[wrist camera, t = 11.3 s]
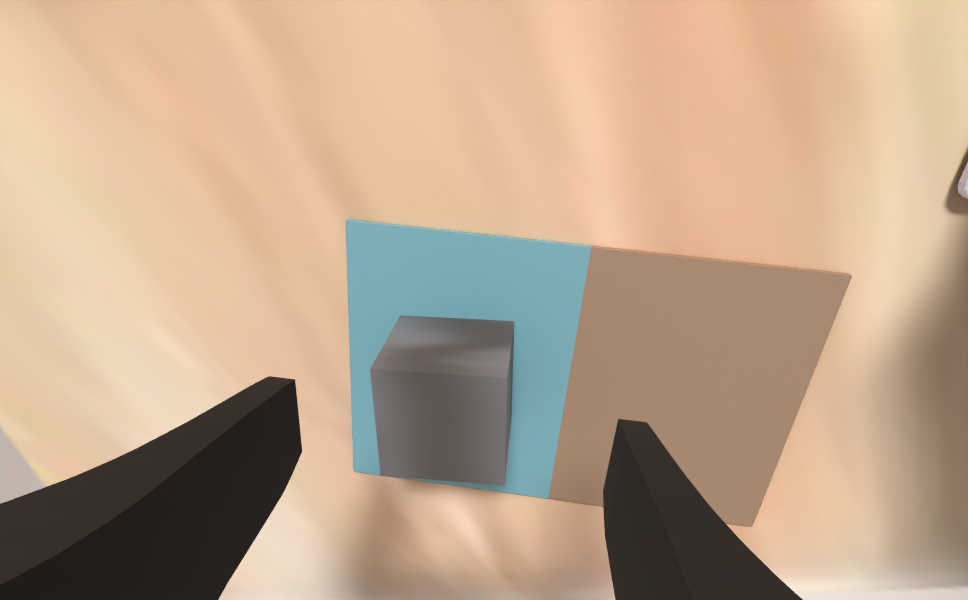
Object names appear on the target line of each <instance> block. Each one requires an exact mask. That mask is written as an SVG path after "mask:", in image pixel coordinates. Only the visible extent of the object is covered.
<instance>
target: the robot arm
mask: <svg viewBox="0 0 968 600" xmlns="http://www.w3.org/2000/svg"><path fill="white" fill-rule="evenodd" d="M957 188H958V192H959V194H960V195H961V196H962V197H964V198H967V199H968V162H967V165H966V167H965V169H964V171H963V173H962V176H961V178H960V180H959V183H958V187H957ZM301 453H302V445H301V435H300V425H299V415H298V405H297V395H296V385H295V379H286V378H278V377H270V376H269V377H267V378H265V379H263V380H261V381H259V382H257V383H255V384H253V385H251V386H250V387H248V388H246V389H244V390H243V391H241V392H239V393H237V394H236V395H234V396H232V397H230V398H229V399H227V400H225V401H223V402H222V403H220V404H218V405H216V406H215V407H213V408H211V409H209V410H208V411H206V412H204V413H202V414H201V415H199V416H197V417H195V418H194V419H192V420H190V421H188V422H186V423H185V424H183V425H181V426H179V427H177V428H175V429H173V430H171V431H169V432H167V433H166V434H164V435H162V436H160V437H158V438H156V439H154V440H152V441H150V442H148V443H146V444H144V445H142V446H141V447H139V448H137V449H135V450H133V451H130V452H128V453H126V454H124V455H122V456H120V457H118V458H116V459H113V460H111V461H109V462H107V463H104V464H102V465H100V466H97V467H95V468H93V469H91V470H88V471H86V472H84V473H81V474H79V475H76V476H74V477H72V478H69V479H67V480H64V481H61V482H59V483H56V484H53V485H51V486H48V487H45V488H42V489H40V490H37V491H34V492H32V493H29V494H27V495H24V496H21V497H18V498H16V499H13V500H10V501H8V502H4V503H1V504H0V600H218V599H219V597H220V595H221V594H222V592H223V590H224V588H225V587H226V585H227V583H228V581H229V580H230V578H231V577H232V575H233V573H234V572H235V570H236V569H237V567H238V565H239V564H240V562H241V561H242V559H243V557H244V556H245V554H246V553H247V551H248V549H249V548H250V546H251V545H252V543H253V541H254V540H255V538H256V537H257V535H258V533H259V532H260V530H261V528H262V527H263V525H264V524H265V522H266V520H267V519H268V517H269V516H270V514H271V512H272V511H273V509H274V507H275V506H276V504H277V502H278V501H279V499H280V497H281V496H282V494H283V492H284V490H285V488H286V486H287V484H288V482H289V480H290V478H291V476H292V473H293V471H294V469H295V466H296V464H297V462H298V460H299V457H300V455H301ZM603 504H604V525H605V538H606V545H607V551H608V557H609V563H610V569H611V575H612V581H613V587H614V593H615V599H616V600H802V599H801V598H800V597H799V596H798V595H797V594H796V593H794V592H793V591H792V590H791V589H790V588H789V587H788V586H787V585H786V584H785V583H784V582H782V581H781V580H780V579H779V578H778V577H777V576H776V575H775V574H774V573H773V572H772V571H771V570H770V569H769V568H768V567H767V566H766V565H765V564H764V563H763V562H762V561H761V560H760V559H759V558H758V557H757V556H756V555H755V554H754V553H753V552H752V551H751V550H749V549H748V547H747V546H746V545H745V544H744V543H743V542H742V541H741V540H740V539H739V538H738V537H737V536H736V535H735V534H734V533H733V532H732V530H731V529H730V528H729V527H728V526H727V525H726V524H725V523H724V521H723V520H722V519H721V518H720V517H719V516H718V515H717V513H716V512H715V511H714V510H713V509H712V508H711V506H710V505H709V504H708V503H707V502H706V500H705V499H704V498H703V497H702V495H701V494H700V493H699V491H698V490H697V489H696V488H695V486H694V485H693V484H692V483H691V481H690V480H689V479H688V478H687V476H686V475H685V474H684V472H683V471H682V470H681V468H680V467H679V466H678V464H677V463H676V461H675V460H674V459H673V457H672V456H671V455H670V453H669V452H668V451H667V449H666V448H665V446H664V445H663V444H662V442H661V441H660V439H659V438H658V436H657V435H656V434H655V432H654V431H653V430H652V428H651V427H650V426H649V424H648V423H647V422H641V421H632V420H624V419H618V422H617V427H616V431H615V436H614V441H613V446H612V450H611V455H610V460H609V464H608V469H607V474H606V479H605V483H604V488H603Z"/></svg>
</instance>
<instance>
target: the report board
mask: <svg viewBox="0 0 968 600" xmlns="http://www.w3.org/2000/svg"><path fill="white" fill-rule="evenodd" d="M346 247H347V279H348V310H349V341H350V373H351V404H352V435H353V466H354V472H361V473H369V474H376V475H380V465H379V455H378V445H377V435H376V425H375V415H374V405H373V395H372V386H371V376H370V368H371V366H372V364H373V363H374V361H375V359H376V357H377V356H378V354H379V352H380V350H381V348H382V347H383V345H384V343H385V341H386V340H387V338H388V336H389V334H390V332H391V331H392V329H393V327H394V325H395V324H396V322H397V320H398V318H399V316H400V315H403V316H423V317H443V318H463V319H482V320H502V321H514V349H513V384H512V417H511V427H510V437H509V447H508V457H507V467H506V478H505V486H504V485H492V484H479V483H467V482H454V481H442V480H429V479H417V478H404V477H397V478H404V479H412V480H419V481H426V482H433V483H440V484H448V485H455V486H462V487H469V488H476V489H484V490H491V491H498V492H505V493H512V494H519V495H527V496H534V497H541V498H548V499H555V500H563V501H570V502H577V503H584V504H591V505H599V506H604V504H603V488H604V483H605V479H606V474H607V469H608V464H609V460H610V455H611V450H612V446H613V441H614V436H615V431H616V427H617V422H618V419H624V420H632V421H641V422H647V423H648V424H649V426H650V427H651V428H652V430H653V431H654V432H655V434H656V435H657V436H658V438H659V439H660V441H661V442H662V444H663V445H664V446H665V448H666V449H667V451H668V452H669V453H670V455H671V456H672V457H673V459H674V460H675V461H676V463H677V464H678V466H679V467H680V468H681V470H682V471H683V472H684V474H685V475H686V476H687V478H688V479H689V480H690V481H691V483H692V484H693V485H694V486H695V488H696V489H697V490H698V491H699V493H700V494H701V495H702V497H703V498H704V499H705V500H706V502H707V503H708V504H709V505H710V506H711V508H712V509H713V510H714V511H715V512H716V513H717V515H718V516H719V517H720V518H721V519H722V520H723V521H724V523H728V524H735V525H742V526H749V527H752V526H753V523H754V521H755V518H756V516H757V513H758V511H759V508H760V506H761V503H762V501H763V498H764V496H765V493H766V491H767V488H768V486H769V483H770V481H771V478H772V476H773V473H774V471H775V468H776V466H777V463H778V461H779V458H780V456H781V453H782V451H783V448H784V446H785V443H786V440H787V438H788V435H789V433H790V430H791V428H792V425H793V423H794V420H795V418H796V415H797V413H798V410H799V408H800V405H801V403H802V400H803V398H804V395H805V393H806V390H807V388H808V385H809V383H810V380H811V378H812V375H813V373H814V370H815V368H816V365H817V363H818V360H819V357H820V355H821V352H822V350H823V347H824V345H825V342H826V340H827V337H828V335H829V332H830V330H831V327H832V325H833V322H834V320H835V317H836V315H837V312H838V310H839V307H840V305H841V302H842V300H843V297H844V295H845V292H846V290H847V287H848V285H849V282H850V280H851V277H852V276H851V275H850V274H847V273H837V272H828V271H819V270H810V269H801V268H791V267H782V266H773V265H764V264H754V263H745V262H736V261H727V260H718V259H708V258H699V257H690V256H681V255H671V254H662V253H653V252H644V251H635V250H625V249H616V248H607V247H598V246H589V245H579V244H570V243H561V242H552V241H542V240H533V239H524V238H515V237H506V236H496V235H487V234H478V233H469V232H459V231H450V230H441V229H432V228H423V227H413V226H404V225H395V224H386V223H377V222H367V221H358V220H349V219H347V220H346ZM390 477H392V476H390Z"/></svg>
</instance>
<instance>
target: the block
mask: <svg viewBox="0 0 968 600" xmlns="http://www.w3.org/2000/svg"><path fill="white" fill-rule="evenodd" d="M513 349H514V321H502V320H482V319H463V318H443V317H423V316H403V315H400V316H399V318H398V320H397V322H396V324H395V325H394V327H393V329H392V331H391V332H390V334H389V336H388V338H387V340H386V341H385V343H384V345H383V347H382V348H381V350H380V352H379V354H378V356H377V357H376V359H375V361H374V363H373V364H372V366H371V368H370V376H371V386H372V395H373V405H374V415H375V425H376V435H377V445H378V455H379V465H380V475H381V476H392V477H404V478H417V479H429V480H442V481H454V482H467V483H479V484H492V485H504V486H505V478H506V467H507V457H508V447H509V437H510V427H511V417H512V384H513Z"/></svg>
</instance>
